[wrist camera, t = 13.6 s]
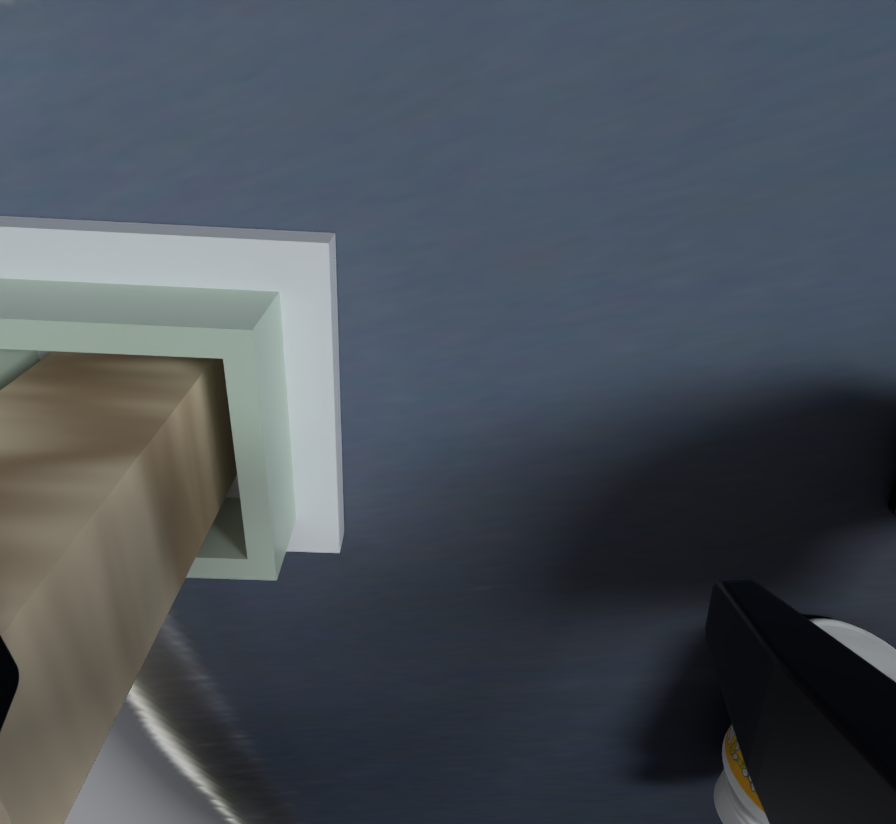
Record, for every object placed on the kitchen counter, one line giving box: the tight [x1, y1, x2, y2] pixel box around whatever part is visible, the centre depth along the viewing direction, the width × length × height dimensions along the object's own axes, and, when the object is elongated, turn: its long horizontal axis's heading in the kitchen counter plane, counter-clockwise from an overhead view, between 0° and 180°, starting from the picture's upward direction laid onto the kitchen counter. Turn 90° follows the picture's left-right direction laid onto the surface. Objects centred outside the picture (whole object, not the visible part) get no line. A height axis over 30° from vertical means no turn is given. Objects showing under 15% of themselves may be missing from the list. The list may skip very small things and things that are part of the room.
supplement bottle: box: [714, 618, 896, 824], centre depth 26 cm, size 5×5×10 cm
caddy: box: [0, 216, 344, 581], centre depth 19 cm, size 11×11×4 cm
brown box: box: [0, 351, 237, 824], centre depth 15 cm, size 4×4×12 cm
